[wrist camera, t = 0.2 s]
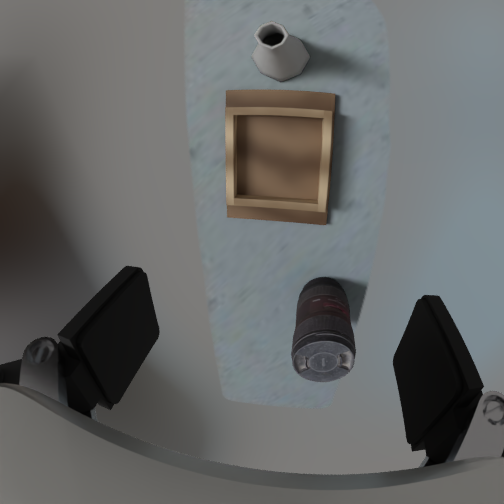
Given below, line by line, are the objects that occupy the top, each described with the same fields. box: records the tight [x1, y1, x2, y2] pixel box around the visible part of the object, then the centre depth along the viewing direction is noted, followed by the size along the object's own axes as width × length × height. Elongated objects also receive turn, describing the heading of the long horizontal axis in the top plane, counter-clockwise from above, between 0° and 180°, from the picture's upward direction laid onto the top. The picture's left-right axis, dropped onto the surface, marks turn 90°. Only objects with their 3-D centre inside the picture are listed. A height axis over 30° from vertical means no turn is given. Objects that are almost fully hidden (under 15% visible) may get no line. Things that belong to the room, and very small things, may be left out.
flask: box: [251, 21, 310, 82], centre depth 25 cm, size 7×7×10 cm
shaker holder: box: [225, 90, 335, 225], centre depth 34 cm, size 18×14×3 cm
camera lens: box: [291, 277, 356, 382], centre depth 37 cm, size 8×8×15 cm
